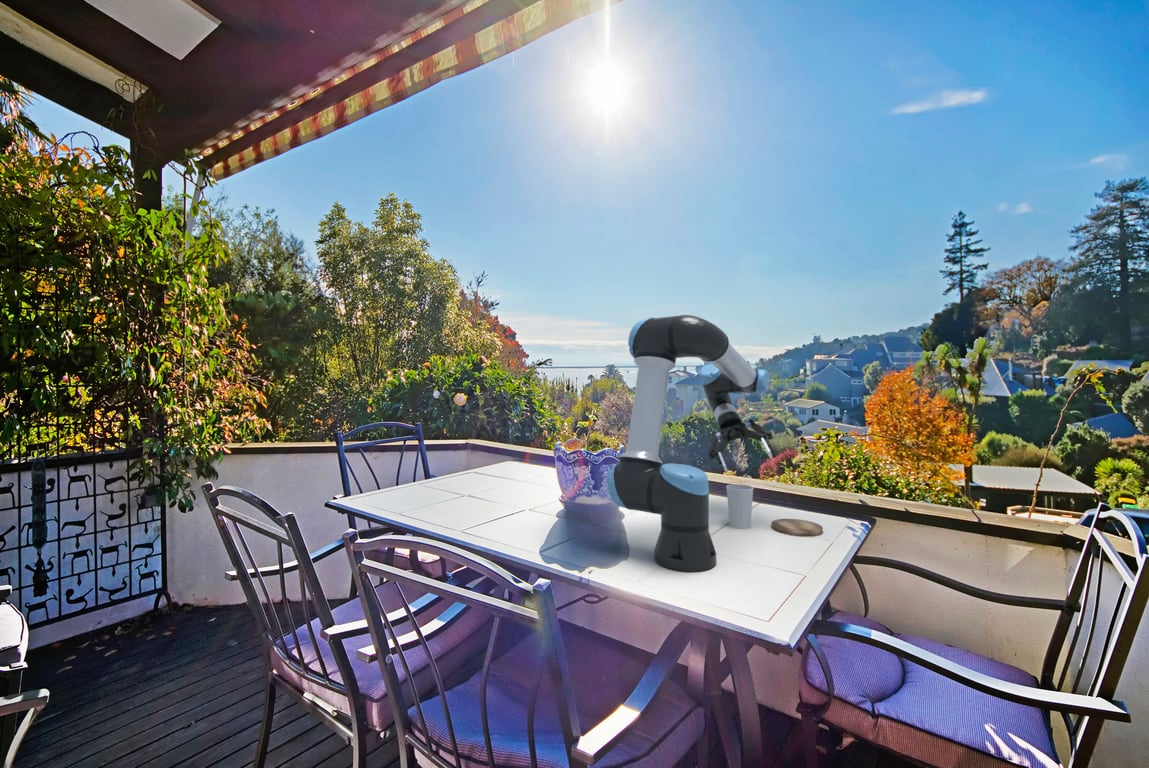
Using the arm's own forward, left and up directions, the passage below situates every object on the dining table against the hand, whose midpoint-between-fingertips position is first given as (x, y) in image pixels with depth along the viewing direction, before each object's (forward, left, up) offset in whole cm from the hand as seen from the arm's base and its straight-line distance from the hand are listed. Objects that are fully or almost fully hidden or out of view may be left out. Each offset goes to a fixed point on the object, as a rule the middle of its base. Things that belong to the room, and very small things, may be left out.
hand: (747, 462), depth 147 cm
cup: (0, +4, -20) cm, 21 cm away
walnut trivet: (+14, -4, -20) cm, 25 cm away
